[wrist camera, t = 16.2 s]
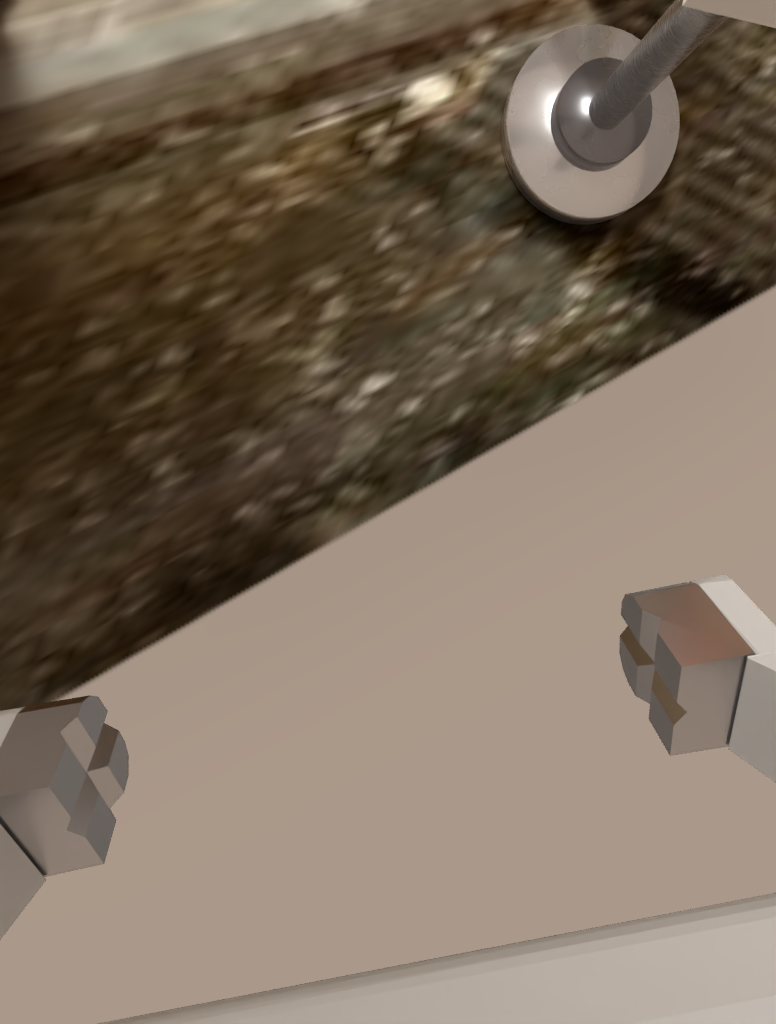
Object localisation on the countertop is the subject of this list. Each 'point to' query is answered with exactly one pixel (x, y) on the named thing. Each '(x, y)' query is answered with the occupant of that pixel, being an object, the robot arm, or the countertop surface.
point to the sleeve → (739, 9)
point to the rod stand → (598, 115)
